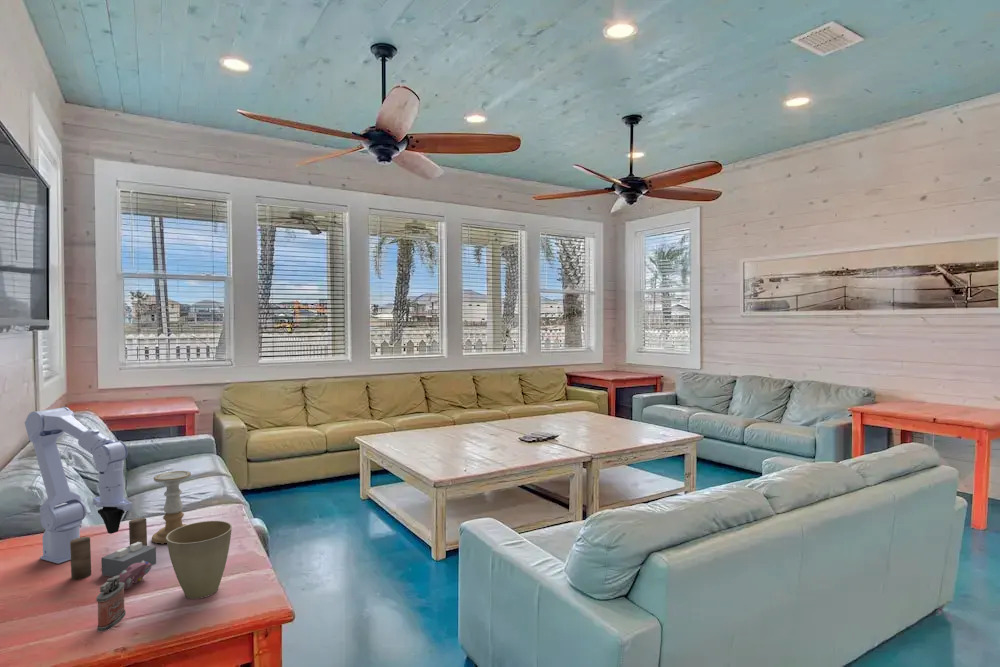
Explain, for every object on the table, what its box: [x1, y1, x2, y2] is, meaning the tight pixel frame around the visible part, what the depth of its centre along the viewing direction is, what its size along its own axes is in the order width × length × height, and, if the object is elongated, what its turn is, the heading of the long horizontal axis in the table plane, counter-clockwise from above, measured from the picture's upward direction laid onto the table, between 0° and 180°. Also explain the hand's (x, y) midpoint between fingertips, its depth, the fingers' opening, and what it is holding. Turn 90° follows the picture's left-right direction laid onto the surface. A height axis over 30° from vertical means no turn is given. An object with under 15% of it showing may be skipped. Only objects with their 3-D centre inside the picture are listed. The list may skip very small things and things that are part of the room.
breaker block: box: [100, 542, 157, 578], centre depth 160 cm, size 8×10×7 cm
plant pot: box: [166, 520, 233, 600], centre depth 146 cm, size 15×15×16 cm
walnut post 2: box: [128, 517, 148, 546], centre depth 170 cm, size 4×4×10 cm
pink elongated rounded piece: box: [118, 560, 153, 590], centre depth 150 cm, size 10×5×7 cm, turn 169°
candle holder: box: [151, 470, 192, 545], centre depth 183 cm, size 12×12×20 cm
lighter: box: [95, 576, 126, 632], centre depth 132 cm, size 8×3×10 cm, turn 5°
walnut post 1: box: [70, 536, 92, 581], centre depth 156 cm, size 4×4×10 cm
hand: (113, 532), depth 163 cm, fingers closed
